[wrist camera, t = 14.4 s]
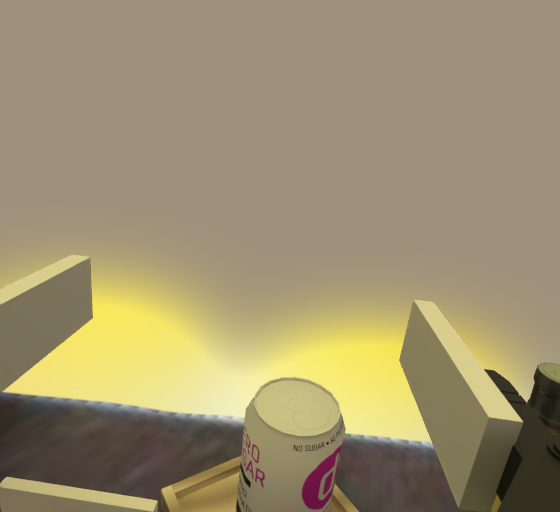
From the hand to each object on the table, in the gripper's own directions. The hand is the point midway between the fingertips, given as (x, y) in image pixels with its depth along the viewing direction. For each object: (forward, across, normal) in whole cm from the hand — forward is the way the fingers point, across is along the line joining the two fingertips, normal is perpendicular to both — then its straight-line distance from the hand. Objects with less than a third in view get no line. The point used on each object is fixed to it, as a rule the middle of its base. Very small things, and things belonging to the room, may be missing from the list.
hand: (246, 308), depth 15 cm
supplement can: (+12, +3, -29) cm, 31 cm away
